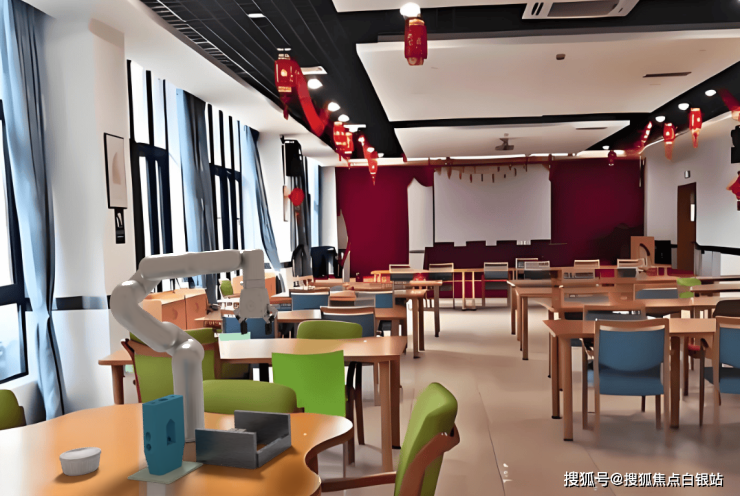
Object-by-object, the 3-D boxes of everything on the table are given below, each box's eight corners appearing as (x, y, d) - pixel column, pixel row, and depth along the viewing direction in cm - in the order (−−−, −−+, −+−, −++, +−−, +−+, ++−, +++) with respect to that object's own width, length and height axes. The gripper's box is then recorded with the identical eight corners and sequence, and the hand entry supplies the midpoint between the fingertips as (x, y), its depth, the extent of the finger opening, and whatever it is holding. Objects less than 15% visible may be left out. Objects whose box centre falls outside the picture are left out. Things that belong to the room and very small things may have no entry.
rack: (196, 462, 183) (194, 429, 183) (237, 440, 204) (236, 409, 204) (256, 469, 176) (254, 434, 176) (292, 445, 197) (291, 413, 197)
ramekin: (90, 461, 189) (90, 443, 189) (109, 468, 182) (108, 450, 182) (53, 472, 180) (52, 454, 180) (70, 480, 173) (70, 461, 173)
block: (156, 478, 171) (153, 405, 171) (143, 475, 173) (140, 404, 173) (187, 463, 181) (184, 395, 181) (174, 461, 184) (171, 394, 184)
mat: (127, 479, 172) (127, 476, 172) (163, 460, 186) (163, 458, 186) (168, 484, 167) (168, 481, 167) (202, 465, 181) (202, 463, 181)
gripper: (226, 286, 213) (228, 335, 213) (270, 285, 206) (272, 336, 207) (238, 284, 220) (241, 332, 220) (281, 283, 213) (283, 333, 214)
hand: (256, 334), depth 213 cm, fingers open, 9 cm apart
